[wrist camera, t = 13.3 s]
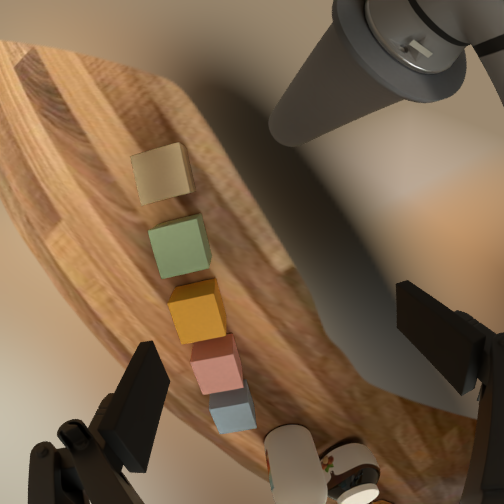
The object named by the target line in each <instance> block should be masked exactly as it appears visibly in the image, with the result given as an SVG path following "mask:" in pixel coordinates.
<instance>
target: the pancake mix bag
mask: <svg viewBox="0 0 504 504" xmlns="http://www.w3.org/2000/svg"><path fill="white" fill-rule="evenodd" d="M371 504H393V503H390V502H387V501H385V500H378V501H376V502H371Z"/></svg>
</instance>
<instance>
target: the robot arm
mask: <svg viewBox="0 0 504 504" xmlns="http://www.w3.org/2000/svg"><path fill="white" fill-rule="evenodd" d="M363 12H364V18H365V22H366V25H367V27H368V29H369V31H370V33H371V35H372V36H373V38H374V39H375V41H376V42H377V44H378V45H379V46H380V47H381V48H382V49H383V51H384V52H385V53H386V54H387V55H389V56H390V57H391V58H392V59H393V60H394V61H396V62H397V63H399V64H400V65H401V66H403V67H405V68H407V69H409V70H411V71H413V72H416V73H419V74H423V75H434V74H437V73H440V72H442V71H444V70H447V69H448V68H449V67H451V65H452V64H453V63H454V61H455V60H456V59H457V58H458V56H459V55H460V54H461V53H462V51H463V50H464V48H465V47H466V46H468V45H470V44H471V45H472V46H473V48H474V50H475V51H476V53H477V55H478V57H479V58H480V60H481V62H482V64H483V66H484V67H485V69H486V71H487V73H488V75H489V77H490V79H491V81H492V83H493V85H494V87H495V88H496V91H497V93H498V95H499V97H500V99H501V102H502V104H503V106H504V0H365V3H364V8H363ZM396 300H397V328H398V329H399V330H400V331H401V332H402V333H403V334H404V335H405V336H406V337H407V338H408V339H409V340H410V341H411V343H412V344H413V345H414V346H415V347H416V348H417V349H418V350H419V351H420V352H421V353H422V354H423V355H424V356H425V357H426V358H427V359H428V360H429V361H430V362H431V363H432V365H433V366H434V367H435V368H436V369H437V370H438V371H439V372H440V373H441V374H442V375H443V376H444V377H445V379H447V381H448V382H449V383H450V384H451V385H452V386H453V387H454V388H455V389H456V391H457V392H458V393H459V394H460V395H461V396H462V395H464V394H466V393H468V392H469V391H471V390H473V389H474V388H475V385H476V381H477V378H478V379H479V380H480V381H481V382H482V385H481V388H480V392H479V395H478V398H477V401H479V410H478V419H477V426H476V433H475V439H474V445H473V451H472V456H471V461H470V465H469V470H468V474H467V478H466V482H465V486H464V490H463V493H462V497H461V500H460V503H459V504H504V333H499V334H496V333H494V332H493V331H491V330H490V329H488V328H487V327H486V326H484V325H483V324H481V323H479V322H478V321H477V320H476V319H473V317H472V316H470V315H469V314H467V313H465V312H462V311H458V310H457V311H455V312H453V311H452V310H450V309H449V308H448V307H446V306H445V305H443V304H442V303H440V302H439V301H437V300H436V299H435V298H433V297H432V296H430V295H429V294H427V293H426V292H424V291H423V290H422V289H420V288H418V287H417V286H416V285H414V284H413V283H411V282H409V281H408V280H407V281H403V282H400V283H397V284H396ZM169 384H170V379H169V377H168V375H167V373H166V371H165V368H164V366H163V364H162V361H161V359H160V357H159V354H158V352H157V350H156V347H155V345H154V342H153V341H147V342H140V344H139V345H138V347H137V349H136V351H135V353H134V355H133V357H132V359H131V361H130V363H129V365H128V367H127V369H126V371H125V373H124V375H123V377H122V379H121V380H120V383H119V384H118V386H117V389H116V391H115V393H110V394H108V395H107V396H106V397H105V398H104V399H103V400H102V402H101V403H100V405H99V409H97V411H96V413H95V414H96V415H94V418H93V419H92V421H91V423H90V425H89V427H88V428H87V427H86V425H85V424H84V423H83V422H82V420H79V419H72V420H69V421H67V422H65V423H64V424H62V425H61V427H60V428H59V430H58V432H57V436H58V438H59V439H60V440H61V442H62V443H63V444H64V445H65V448H60V449H56V448H55V447H54V446H53V445H52V444H51V442H47V441H46V442H41V443H38V444H37V445H36V446H34V448H33V449H32V451H31V454H30V464H29V481H28V504H90V502H91V503H92V504H144V502H143V501H142V500H141V499H140V497H139V495H138V494H137V493H136V491H135V490H134V488H133V487H132V485H131V484H130V483H129V481H128V480H127V478H126V477H125V475H124V474H123V473H122V472H121V470H122V467H123V465H124V466H125V467H126V468H127V470H128V471H129V472H135V473H146V471H147V466H148V462H149V458H150V454H151V450H152V446H153V443H154V439H155V435H156V431H157V427H158V424H159V420H160V416H161V412H162V409H163V405H164V401H165V398H166V394H167V391H168V387H169ZM479 399H480V400H479ZM89 500H90V501H89Z"/></svg>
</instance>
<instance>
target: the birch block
mask: <svg viewBox="0 0 504 504" xmlns="http://www.w3.org/2000/svg"><path fill="white" fill-rule="evenodd" d="M130 158H131V163H132V168H133V172H134V177H135V181H136V186H137V190H138V194H139V199H140V203H141V206H143V205H146V204H150V203H153V202H157V201H161V200H164V199H168V198H172V197H176V196H179V195H183V194H187V193H191V192H195V191H196V189H195V184H194V180H193V175H192V171H191V167H190V162H189V158H188V153H187V148H186V147H185V146H183V145H182V144H181V143H180V142H177V143H173V144H170V145H166V146H162V147H159V148H156V149H152V150H149V151H146V152H142V153H139V154H136V155H133V156H130Z"/></svg>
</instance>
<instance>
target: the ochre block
mask: <svg viewBox="0 0 504 504" xmlns="http://www.w3.org/2000/svg"><path fill="white" fill-rule="evenodd" d="M168 307H169V310H170V313H171V316H172V319H173V321H174V324H175V327H176V330H177V333H178V336H179V338H180V341H181V344H187V343H192V342H198V341H203V340H208V339H213V338H218V337H223V336H226V313H225V309H224V306H223V302H222V298H221V295H220V291H219V287H218V284H217V280H216V278H214V279H210V280H205V281H201V282H196V283H192V284H187V285H183V286H178V287H175V289H174V291H173V293H172V295H171V297H170V299H169V301H168Z"/></svg>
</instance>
